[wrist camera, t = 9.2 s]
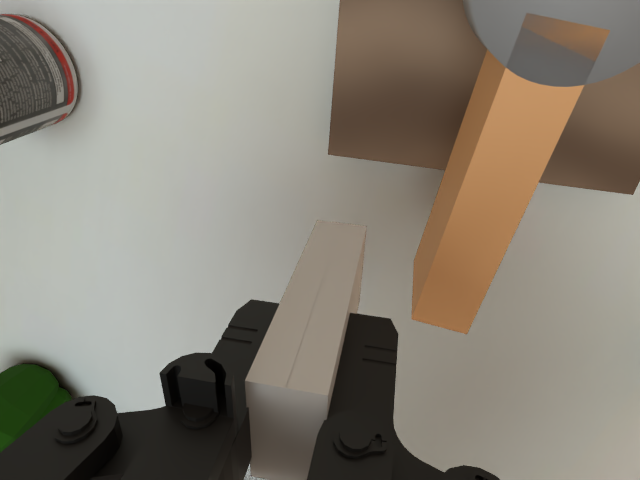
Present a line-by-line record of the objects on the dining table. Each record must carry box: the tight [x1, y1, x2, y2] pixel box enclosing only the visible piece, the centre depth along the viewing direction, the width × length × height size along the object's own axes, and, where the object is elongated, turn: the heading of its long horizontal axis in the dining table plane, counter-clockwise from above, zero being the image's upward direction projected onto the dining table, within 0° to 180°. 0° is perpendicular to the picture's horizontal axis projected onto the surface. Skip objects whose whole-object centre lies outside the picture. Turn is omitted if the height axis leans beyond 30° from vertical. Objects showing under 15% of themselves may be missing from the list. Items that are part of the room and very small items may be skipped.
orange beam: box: [412, 0, 640, 334], centre depth 14 cm, size 14×5×4 cm, turn 170°
